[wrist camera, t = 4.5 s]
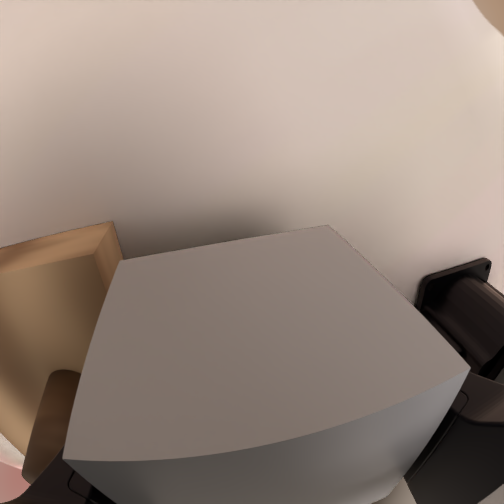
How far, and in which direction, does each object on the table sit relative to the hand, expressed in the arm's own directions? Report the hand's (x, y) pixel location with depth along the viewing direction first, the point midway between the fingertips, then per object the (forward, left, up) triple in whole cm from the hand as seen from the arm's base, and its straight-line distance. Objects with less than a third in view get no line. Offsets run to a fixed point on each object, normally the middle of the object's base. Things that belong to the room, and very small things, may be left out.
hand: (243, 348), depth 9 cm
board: (+10, +10, -5) cm, 15 cm away
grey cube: (0, 0, -1) cm, 1 cm away
